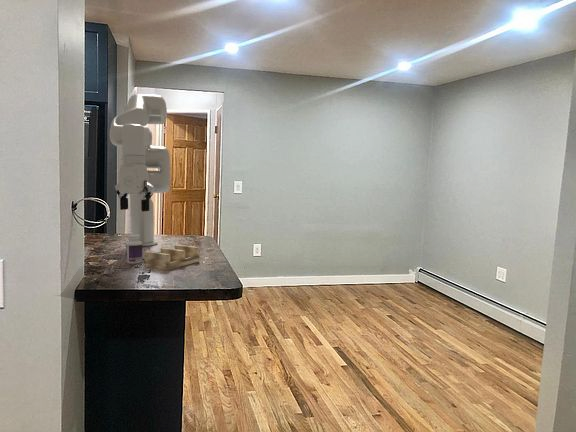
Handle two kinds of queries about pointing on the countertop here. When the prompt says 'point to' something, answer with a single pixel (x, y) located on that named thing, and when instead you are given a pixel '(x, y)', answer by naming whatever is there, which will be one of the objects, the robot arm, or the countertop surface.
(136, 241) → the pill bottle
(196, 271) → the countertop surface
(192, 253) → the rack
